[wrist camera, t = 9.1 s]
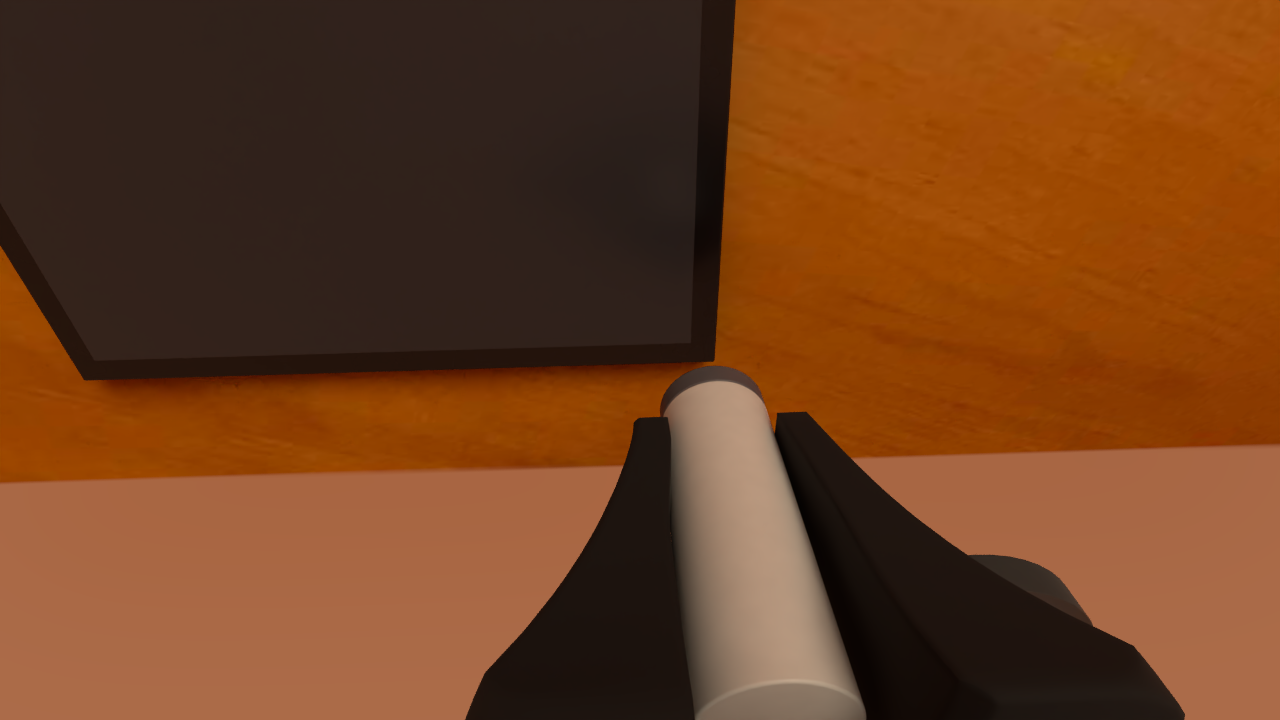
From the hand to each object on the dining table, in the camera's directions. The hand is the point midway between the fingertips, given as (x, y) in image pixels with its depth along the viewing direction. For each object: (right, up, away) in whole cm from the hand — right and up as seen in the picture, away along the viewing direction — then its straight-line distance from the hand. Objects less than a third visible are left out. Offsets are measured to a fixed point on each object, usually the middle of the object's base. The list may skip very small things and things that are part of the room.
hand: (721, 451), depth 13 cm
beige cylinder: (0, +1, +1) cm, 1 cm away
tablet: (-9, +8, +3) cm, 13 cm away
